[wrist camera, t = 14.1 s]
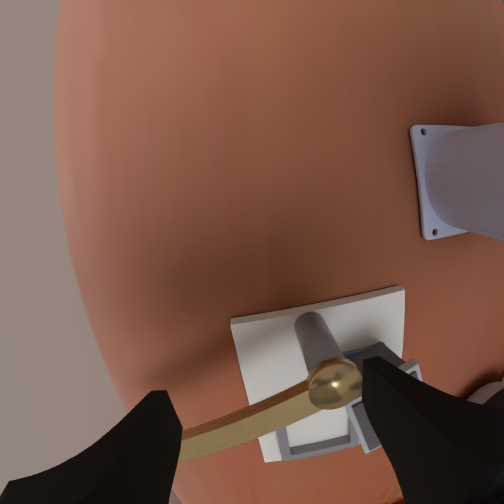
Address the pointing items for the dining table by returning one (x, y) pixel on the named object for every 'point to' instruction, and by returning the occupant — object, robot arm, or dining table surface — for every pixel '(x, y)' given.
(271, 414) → the lever handle
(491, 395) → the black rounded cone
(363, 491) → the dining table surface
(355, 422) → the plug
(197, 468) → the dining table surface
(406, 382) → the robot arm
